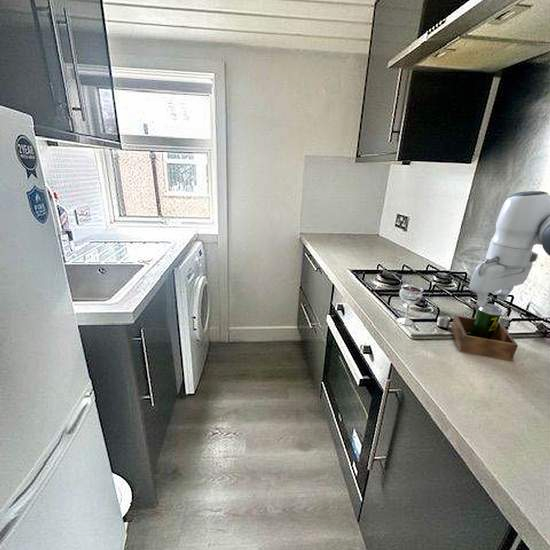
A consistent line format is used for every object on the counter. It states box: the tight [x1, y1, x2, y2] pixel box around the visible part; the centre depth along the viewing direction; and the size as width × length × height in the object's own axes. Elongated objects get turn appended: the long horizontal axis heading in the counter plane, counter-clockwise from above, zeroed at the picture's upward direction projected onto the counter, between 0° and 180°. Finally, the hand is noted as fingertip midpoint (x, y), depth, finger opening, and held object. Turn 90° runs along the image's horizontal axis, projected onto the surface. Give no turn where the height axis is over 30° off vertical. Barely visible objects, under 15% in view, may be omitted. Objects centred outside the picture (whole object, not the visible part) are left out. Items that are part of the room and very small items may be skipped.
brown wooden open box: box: [450, 314, 518, 362], centre depth 88 cm, size 13×13×5 cm
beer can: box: [469, 302, 502, 340], centre depth 86 cm, size 5×5×12 cm
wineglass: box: [396, 283, 424, 326], centre depth 97 cm, size 7×7×12 cm
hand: (491, 302), depth 84 cm, fingers open, 8 cm apart
